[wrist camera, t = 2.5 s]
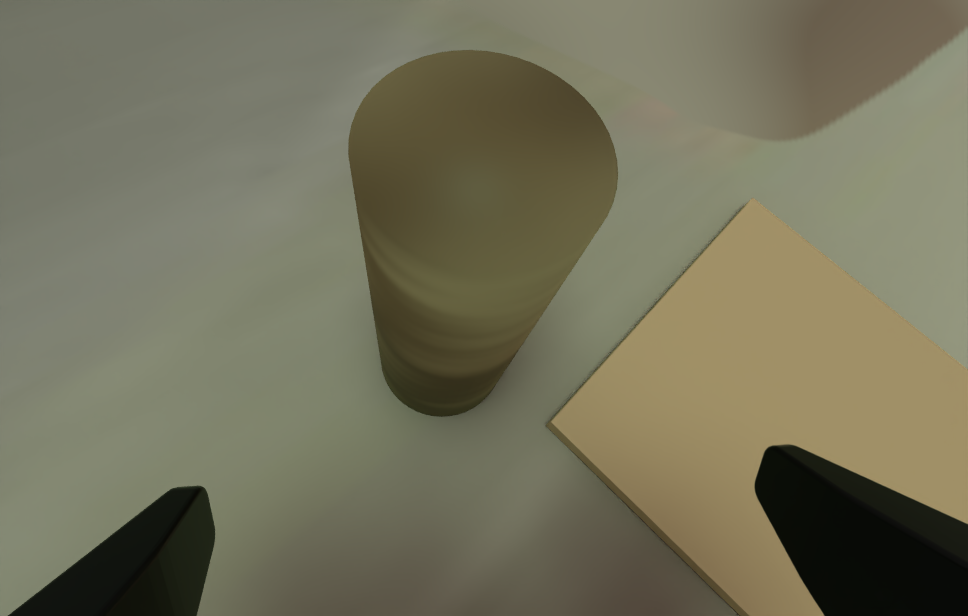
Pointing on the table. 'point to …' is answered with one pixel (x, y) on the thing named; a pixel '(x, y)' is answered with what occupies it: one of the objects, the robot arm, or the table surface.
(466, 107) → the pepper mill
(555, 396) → the table surface
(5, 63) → the table surface
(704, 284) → the beige square board
